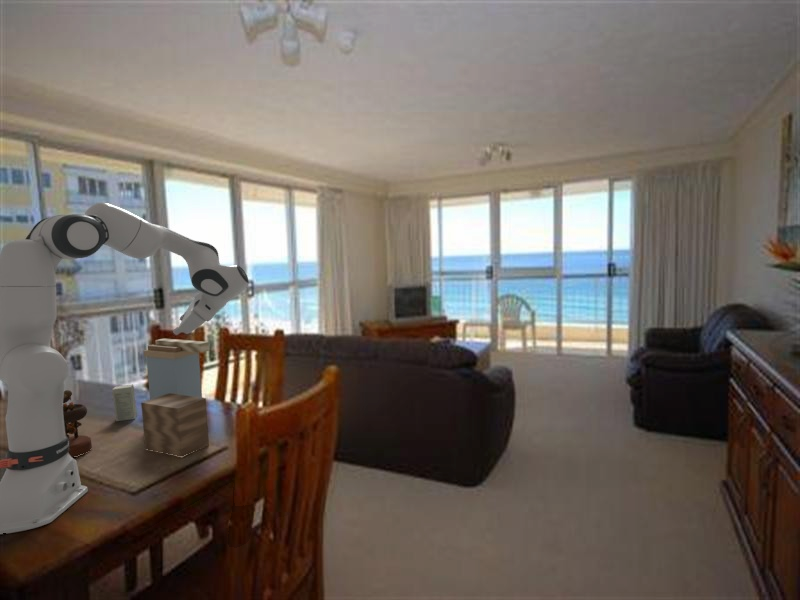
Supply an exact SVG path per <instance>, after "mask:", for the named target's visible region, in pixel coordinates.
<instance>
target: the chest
mask: <svg viewBox="0 0 800 600" xmlns="http://www.w3.org/2000/svg"><path fill="white" fill-rule="evenodd" d="M143 357H146V367H147V368H146V369H147V379H148V389H149V390H148V391H149V400H151V399H154V398H157V397H160V396H163V395H166V394H169V393H172V394H179V395H185V396H192V397H199V398H203V393H202V392H203V391H202V378H201V377H202V376H201V367H200V353H198V352H187V351H181V347H175V346H164V345H156V344H149V345H147V349H145V350H143Z"/></svg>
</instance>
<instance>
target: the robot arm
mask: <svg viewBox="0 0 800 600" xmlns="http://www.w3.org/2000/svg"><path fill="white" fill-rule="evenodd" d="M103 245H104V246H107V247H109V248H111V249H113V250H116V251H118V252H119V253H121V254H122V255H125V256H127V257H130V258H134V259H138V260H140V259H141V260H142V259H147V258H150V257H152V256H153V255H154V254H155V253H157V252H158V251H159V249H162V250H165V251H168V252H170V253H172V254H175V255H178V256H180V257H181V258H182V259H184V260H185V262H186V264H187V267H188V274H189V277H190V282H191V285H192V286H193V288H194V289H196V290H197V291H198V293H196V294H194V298H193V299H192V300H191V302H190V303H189V304H188V307H187V309H186V311H185V312H184V313H183V314H182V315H180V317H179V321H180V324H179V325H178V326H177V327H176V328H174V329H173V331H172V333H173V335H175V336H178V335H180V334H181V333H184V334H185V335H188V334H191V333H192V332H194V331H195V330H197V329H198V328H199V327H201V326H202V325H203V324H205V323H206V322H210V321H211V320H212V319H213V318H214V316H215V315H216V314H217V313H218V312H220V310H221V309H223V308H224V307H225V306H226V305H227V304H228V303H229V302H230V301H232V300H234V299H235V298H237V296H239V295H240V294H241V293H242V292H243V291H244V290H245V289H246V288H247V287H248V285H249V284H250V283H249V277H248V275H247V274H246V272H245V270H244V268H242V267H241V266H240V265H239V264H235V265H225V264H221V263H220V258H219V256H220V255H219V253H218V252H219V251H218V249H217V248H216V247H215V246H214V245H212V244H210V243H208V242H203V241H198V240H194V239H191V238H189V237H187V236H185V235H182V234H180V233H178V232H176V231H173V230H172V229H169V228H167V227H165V226H162V225H159V224H154V223H151V222H149V221H147V220H146V219H144V218H142V217H140V216H137V215H136V214H134V213H132V212H130V211H128V210H126V209H124V208H121V207H119V206H116V205H113V204H111V203H108V202H107V203H106V202H102V201H101V202H96V203H94V204H92V205H91V206H90V207H88V208H87V210H86V211H85V212H84V214H80V213H73V214H58V215H53V216H50V217H45V218H43V219H41V220H40V221H37V223H36V224H35V225H34V226H33V227H32V228H31V230H30V232H29V234H28V235H27V236H26V238H22V239H16V240H12V241H11V240H10V241H9V242H7V243H6V244H4V245H3V246H2V248H1V250H0V381H1V382H3V383H5V384H6V387H7V393H8V394H7V409H6V415H5V427H6V428H5V429H6V435H7V443H8V444H7V445H8V448H7V451H6V455H5V458H1V460H0V469H6V470H5V471H4V474H3V475H2V478H1V479H0V535H4V534H3V533H6V534H12V533H18V532H24V531H27V530H32V529H36V528H39V527H42V526H44V525H45V526H46V525H48V524H50V523H52V522H53V521H54V520H56V519H57V518H58V517H59V516H61V515H62V513H64V512H65V511H66V510H67V509H69V508H70V507H71V506H72V505H73V504H75V503H76V502H77V501H79V499H81V498H82V497H83V496H84V495H86V494H87V492H88V491H89V490H88V486H86V485H82V482H81V478H80V471H79V466H78V462H77V460H76V459H75V458H72V457H71V456H70V454H69V453H68V452H69V441H68V437H67V436H65V426H64V416H63V397H64V391H65V388H66V379H67V377H68V375H69V365H68V362H67V360H66V359H65V357H64V356H63V355H62V353H61V352H59V351H58V350H57V349H55V348H53V347H51V339H52V334H53V329H54V325H55V322H56V320H57V317H58V314H57V311H58V310H57V309H58V308H57V307H58V306H57V276H56V274H57V268H58V265H59V264H60V262H61V261H63V260H76V259H77V260H78V259H85V258H87V257H91V256H92V255H94V254H96V253H97V252H98V251H99V250H100V249H101V247H102V246H103Z"/></svg>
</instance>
